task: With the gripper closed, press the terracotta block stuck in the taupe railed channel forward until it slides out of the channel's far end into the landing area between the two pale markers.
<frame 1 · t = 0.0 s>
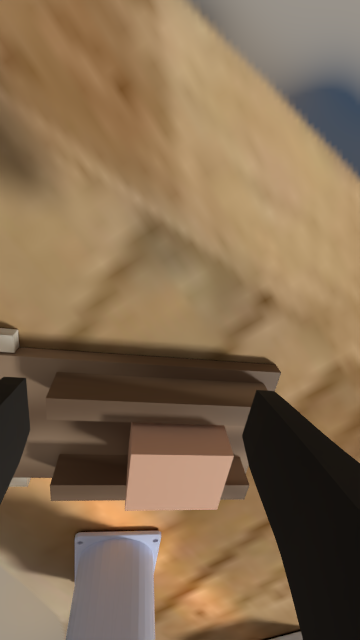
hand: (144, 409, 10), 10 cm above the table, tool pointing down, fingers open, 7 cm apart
taupe railed channel: (90, 415, 22), on the table
terracotta block: (171, 428, 23), point 1 cm above the table, touching taupe railed channel
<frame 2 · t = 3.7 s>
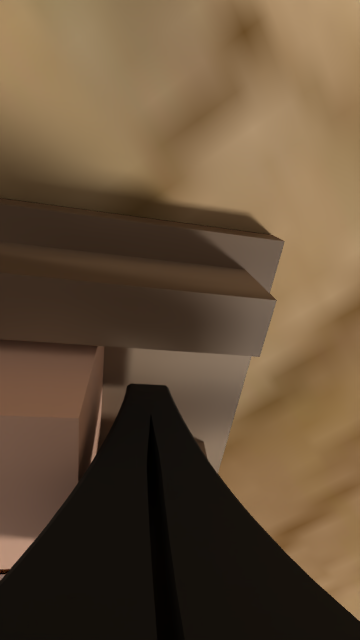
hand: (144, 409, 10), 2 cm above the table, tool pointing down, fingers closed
terracotta block: (11, 373, 10), point 1 cm above the table, touching gripper, taupe railed channel
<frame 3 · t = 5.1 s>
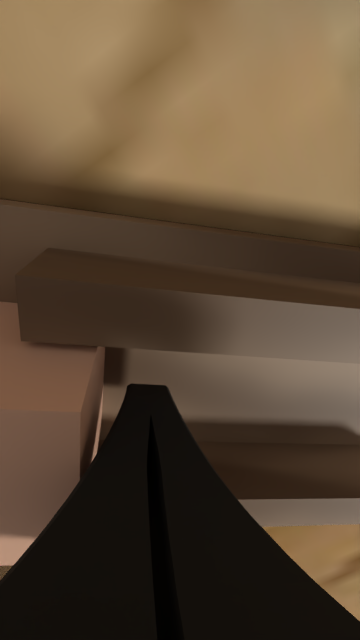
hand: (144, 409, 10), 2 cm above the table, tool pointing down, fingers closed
taupe railed channel: (115, 364, 12), on the table
terracotta block: (12, 370, 10), point 1 cm above the table, touching gripper, taupe railed channel
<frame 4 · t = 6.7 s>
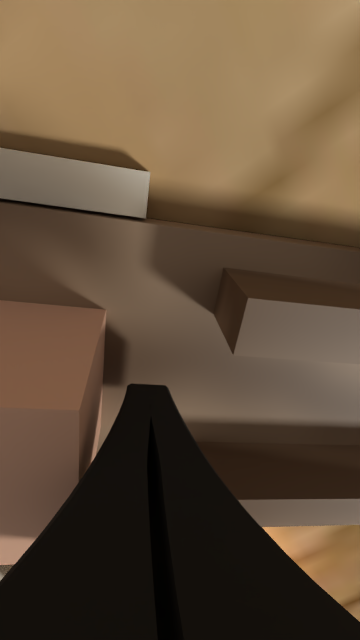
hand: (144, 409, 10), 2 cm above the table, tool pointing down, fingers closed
taupe railed channel: (241, 371, 13), on the table
terracotta block: (11, 369, 10), point 1 cm above the table, touching gripper, taupe railed channel
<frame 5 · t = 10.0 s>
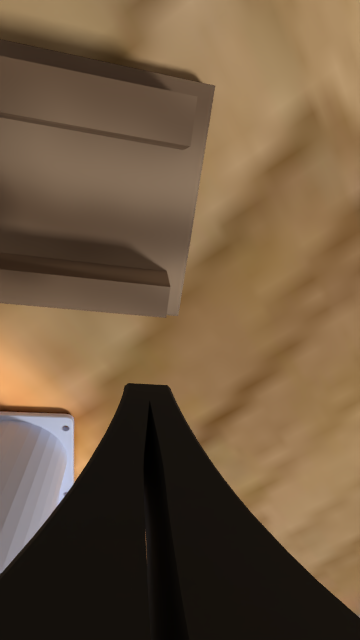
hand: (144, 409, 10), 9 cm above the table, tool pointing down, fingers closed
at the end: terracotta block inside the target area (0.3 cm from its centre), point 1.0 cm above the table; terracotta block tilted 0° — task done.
